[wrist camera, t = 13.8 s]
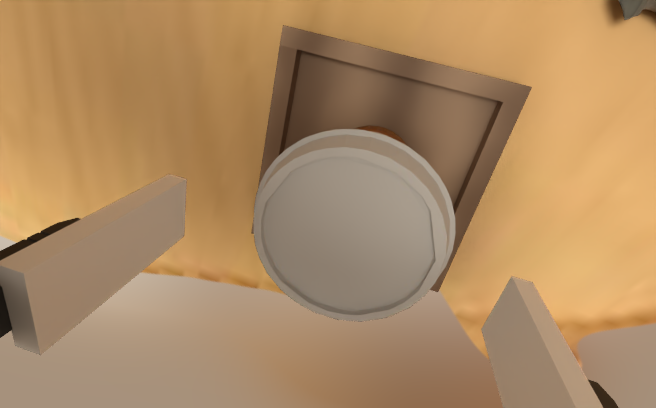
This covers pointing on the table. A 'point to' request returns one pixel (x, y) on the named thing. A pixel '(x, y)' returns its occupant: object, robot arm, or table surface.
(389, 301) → the disposable coffee cup
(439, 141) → the walnut tray
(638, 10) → the salad plate
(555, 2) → the table surface
